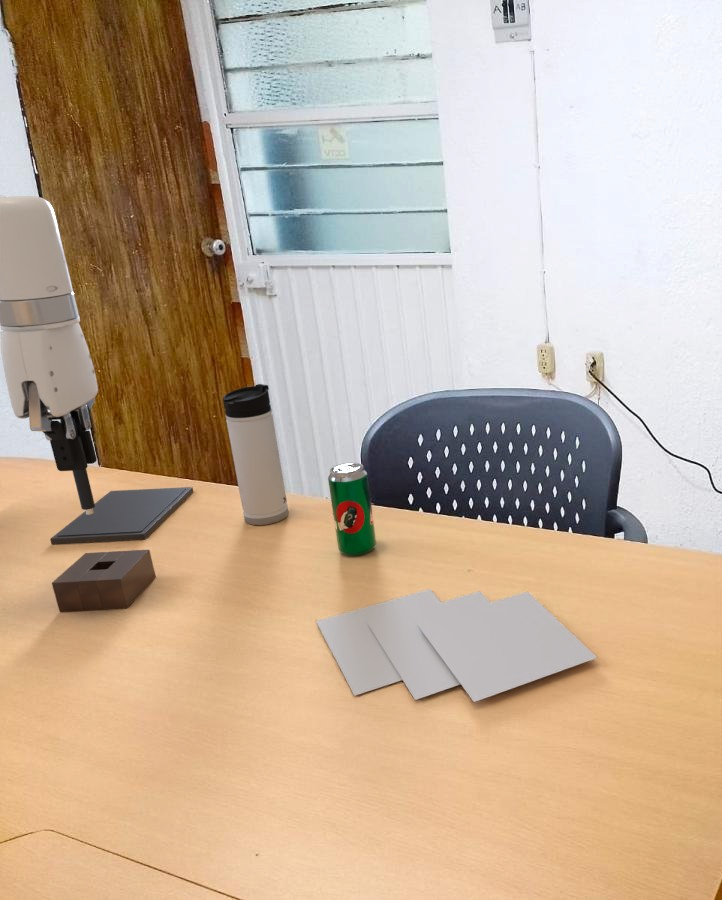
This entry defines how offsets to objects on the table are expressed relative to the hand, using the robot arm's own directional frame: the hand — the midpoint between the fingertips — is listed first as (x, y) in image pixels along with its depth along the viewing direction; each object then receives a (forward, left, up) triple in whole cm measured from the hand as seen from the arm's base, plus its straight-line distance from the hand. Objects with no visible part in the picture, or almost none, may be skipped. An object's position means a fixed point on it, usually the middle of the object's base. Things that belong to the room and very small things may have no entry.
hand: (77, 465), depth 98 cm
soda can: (+29, +9, -17) cm, 35 cm away
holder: (0, 0, -17) cm, 17 cm away
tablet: (-9, +25, -17) cm, 32 cm away
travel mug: (+13, +22, -17) cm, 31 cm away
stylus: (0, 0, -6) cm, 6 cm away
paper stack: (+44, -16, -17) cm, 50 cm away
